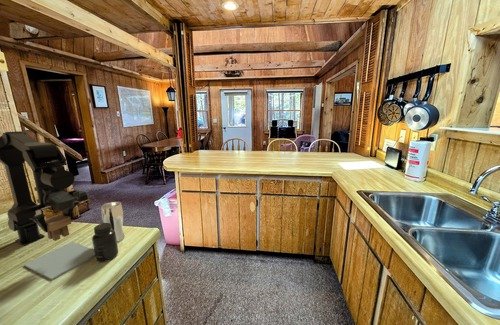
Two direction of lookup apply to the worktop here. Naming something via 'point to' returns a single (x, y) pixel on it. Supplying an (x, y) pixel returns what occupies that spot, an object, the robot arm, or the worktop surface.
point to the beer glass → (114, 218)
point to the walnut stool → (57, 226)
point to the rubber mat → (60, 260)
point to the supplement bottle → (104, 242)
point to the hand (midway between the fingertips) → (57, 227)
